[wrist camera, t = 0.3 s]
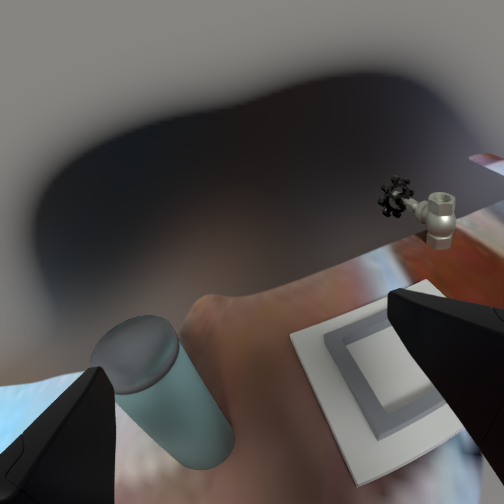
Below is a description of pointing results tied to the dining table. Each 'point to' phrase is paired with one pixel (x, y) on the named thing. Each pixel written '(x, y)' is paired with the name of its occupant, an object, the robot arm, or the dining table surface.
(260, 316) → the dining table surface
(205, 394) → the cup
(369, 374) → the dock
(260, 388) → the dining table surface
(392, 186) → the valve
